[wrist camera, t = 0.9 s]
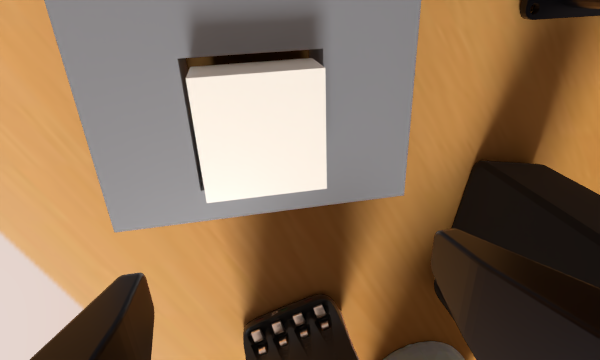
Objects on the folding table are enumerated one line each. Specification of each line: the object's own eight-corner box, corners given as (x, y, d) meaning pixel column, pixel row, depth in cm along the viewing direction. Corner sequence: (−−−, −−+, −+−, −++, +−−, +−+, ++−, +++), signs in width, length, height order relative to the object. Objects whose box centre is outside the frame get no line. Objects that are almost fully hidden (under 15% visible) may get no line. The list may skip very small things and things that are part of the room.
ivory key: (311, 57, 16) (325, 67, 14) (314, 166, 19) (326, 188, 16) (190, 66, 16) (185, 78, 14) (208, 178, 18) (206, 203, 16)
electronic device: (429, 287, 27) (530, 430, 18) (475, 155, 23) (633, 256, 14) (482, 286, 28) (601, 421, 19) (534, 159, 24) (717, 256, 15)
